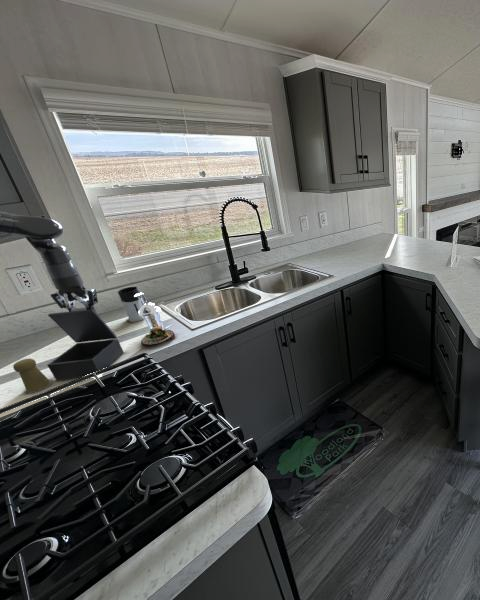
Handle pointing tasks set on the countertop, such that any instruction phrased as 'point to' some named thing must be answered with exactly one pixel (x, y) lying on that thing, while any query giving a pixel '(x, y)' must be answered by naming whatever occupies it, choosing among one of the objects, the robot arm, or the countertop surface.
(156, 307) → the cup with straw
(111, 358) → the black hinged lid box
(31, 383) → the cork
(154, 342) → the bowl of salad
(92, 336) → the hatch
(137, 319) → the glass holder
